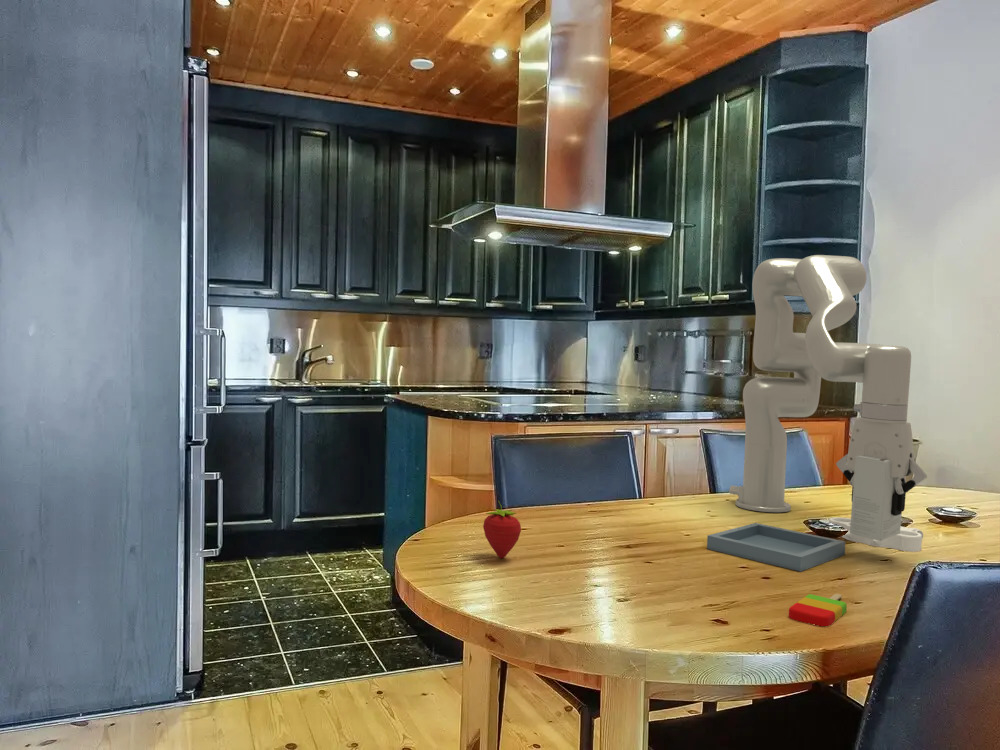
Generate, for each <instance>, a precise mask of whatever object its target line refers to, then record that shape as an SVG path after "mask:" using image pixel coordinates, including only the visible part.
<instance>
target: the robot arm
mask: <svg viewBox="0 0 1000 750" xmlns="http://www.w3.org/2000/svg"><path fill="white" fill-rule="evenodd" d="M866 283H867V271H866V268H865V266H864V264H863V263H862V261H860V260H859V259H858V258H856V257H854V256H845V255H843V256H842V255H831V254H830V255H829V254H828V255H825V254H814V255H810V256H806V257H804V258H787V257H783V258H781V257H780V258H779V257H778V258H769V259H766V260H764V261H762V262H761V263H760V264H759V265H757V267H756V268H755V271H754V274H753V278H752V293H753V294H752V296H753V301H754V305H755V322H754V323H755V324H754V332H753V333H754V334H753V335H754V336H753V346H752V347H753V348H752V359H753V360H752V361H753V364H754V367H756V368H757V369H758V370H761V371H765V372H782V373H785V372H786V373H793V377H781V376H759V377H754V378H752V379H750V380H748V381H747V382H746V383H745V385H744V387H743V389H742V401H743V409H744V418H745V421H744V422H745V429H744V430H745V432H744V433H745V437H744V438H745V439H744V458H743V478H742V479H743V481H742V482H743V483H742V485H740V486H739V485H738V486H737V485H732V484H731V485H730V486H729V490H728V493H729V494H731V495H737V496H738V498H737V499H736V500H735V505H736V506H737V507H739V508H741V509H743V510H747V511H753V512H761V513H786V512H787V513H788V512H790V511H791V508H792V506H791V504H790V503H788V502H785V492H786V491H785V490H786V472H787V471H786V469H787V467H786V466H787V451H788V450H787V449H788V437H787V432H786V429H785V428H784V426H783V424H782V423H781V421H780V420H779V418H808V417H810V416H812V415H813V414H814V413H816V411H817V409H818V408H819V407H818V406H819V402H820V393H821V386H822V385H821V383H822V379H823V380H825V381H829V382H836V383H837V382H839V383H845V382H846V383H861V384H862V393H861V401H860V403H859V404H856V403H855V404H853V411H854V412H857V413H859V416H860V418H859V417H858V418H855V420H854V423H853V426H852V429H851V434H850V440H849V445H848V451H847V454H845V455H844V456H842V457H841V458H840V459H839V460H838V461H836V463H835V464H836V466H837V468H838V469H839V470H840V471H841V473H843V476H844V477H845V479H847V481H848V482H849V485H850V486H852V488H851V500H852V499H853V486H854V475H855V461H856V456H869V457H876V458H882V459H887V460H890V478H894V479H893V483H894V486H895V489H896V490H895V493H894V494H893V496H892V510H891V514H892V515H894V516H897V515H900V514H901V513H902V512H904V511H905V510H906V509H905V506H906V497H907V496H906V495H907V493H908V492H909V491H910V490H912V489H914V488H915V487H916V486H918V484H920V483H922V482H924V481H925V480H927V479H928V475H927V474H926V473H925V471H924V470H923V469H922V468H921V467H920V466H919V465H918V463H917V462H916V460H914V441H913V440H914V439H913V438H914V437H913V432H912V430H913V429H912V425H911V422H908V421H907V419H908V409H909V408H908V406H909V395H910V383H911V367H912V366H911V365H912V353H911V350H910V349H909V348H908V347H906V346H901V345H884V344H880V343H879V344H877V343H861V342H843V341H842V342H835V341H834V340H833V338H832V337H831V334H830V331H832V330H834V329H836V328H839V327H841V326H842V325H845V324H846V323H847V322H849V321H850V320H851V319H853V317H854V315H855V313H856V312H857V307H858V306H857V301H856V300H855V298H854V296H856V295H858V294H860V293H861V292H862V291H863V289H864V288H865V286H866ZM786 296H787V297H788V296H791V297H802V298H803V300H804V302H805V303H806V304H805V305H806V306H807V308H808V310H809V312H810V314H811V316H812V318H811V319H810V321H809V323H808V324H807V326H806V330H805V333H804V332H794V328H793V327H794V319H795V317H794V311H793V308H792V306H791V305H790V303H789V301H788V299H787V298H786ZM912 474H913V477H912V478H911V479H909V480H908V481H907V480H906V477H909V476H911V475H912ZM902 514H903V513H902Z"/></svg>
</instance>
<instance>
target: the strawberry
mask: <svg viewBox="0 0 1000 750" xmlns="http://www.w3.org/2000/svg"><path fill="white" fill-rule="evenodd" d="M497 501H498V503H499V505H500V509H497V508H496V509H495V511H490V512H486V513H485V514H486V515H487V517H485V518H484V520H483V525H482V528H483V531H484V535H485V538H486V540H487V542H488V543H489V545H490V547H491V548H492V550H493V552H495V554H496V556H497V557H498V558H499V559H504V558H506V557H507V555H508V554H509V553H510V551H511V550H512V549H513V548H514V547H515V545H516V544H517V542H518V541H519V538H520V534H521V532H522V525H521V522H520V521H519V520H518V519H517V518H516V517H514V515H517V512H513V510H512V509H508V510H502V507H503V506H502V505H501V503H500V501H499V500H497Z"/></svg>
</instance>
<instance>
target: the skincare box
mask: <svg viewBox="0 0 1000 750" xmlns="http://www.w3.org/2000/svg"><path fill="white" fill-rule="evenodd" d="M854 473H855V475H854V486H853V499H852V498H851V512H850V513H851V514H850V519H851V524H850V533H851V534H855V535H858V536H862V537H866V538H870V539H874V540H879V541H882V540H884V539H887V538H889V537H892V536H895V535H897V534H900V527H901V526H902V514H903V513H901V514H900V515H897V516H894V515H892V514H891V510H892V496H893V494H894V493H895V490H896V489H895V486H894V483H893V479H894V478H890V460H887V459H882V458H876V457H869V456H856V461H855V472H854Z"/></svg>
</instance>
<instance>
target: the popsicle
mask: <svg viewBox="0 0 1000 750" xmlns="http://www.w3.org/2000/svg"><path fill="white" fill-rule="evenodd" d="M842 597H843V595H842V594H840V593H834V594H833V595H832V596H831V597H829V598H828V597H824V596H820V595H815V594H811V593H808V594H807V595H806V596H804V597H803V598H801V599H800V600H798V601H797V602H796V603H794V604H793V605H792V604H791V606H790V607H789V608H788V618H789V619H791V620H793V619H794V620H793V621H796V620H797V621H796V622H800V621H801V622H800V623H804V622H805V624H808V623H810V624H809V625H812V624H815V625H814V626H816V625H819V626H818V627H821V626H828V627H830V626H831V625H833V624H834V623H835V622H836V621H837V620H839V619H840V618H841V617H842V616H843V615H845V614H846V613H847V606H848V605H847V603H846V602H845V601H842V600H840V599H841V598H842ZM844 613H845V614H844ZM840 616H841V617H840ZM839 617H840V618H839ZM838 618H839V619H838ZM834 621H835V622H834ZM833 622H834V623H833ZM832 623H833V624H832ZM829 625H830V626H829Z"/></svg>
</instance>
